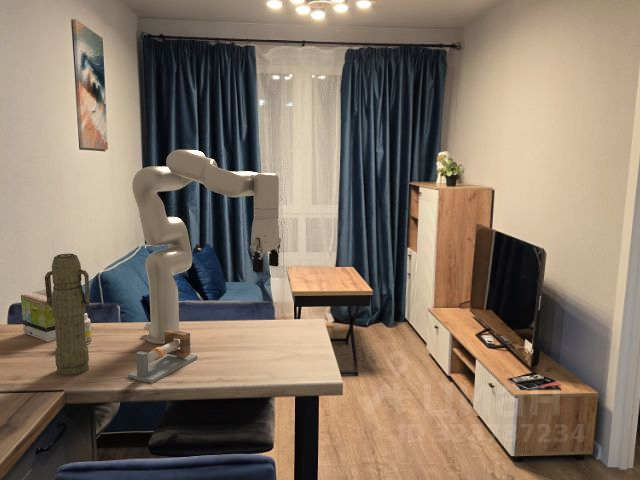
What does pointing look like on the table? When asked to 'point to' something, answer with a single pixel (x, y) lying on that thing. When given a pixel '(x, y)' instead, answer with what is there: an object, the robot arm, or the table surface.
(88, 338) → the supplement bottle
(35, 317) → the tea box
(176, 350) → the collar
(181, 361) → the pipe stand
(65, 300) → the thermos
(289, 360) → the table surface
